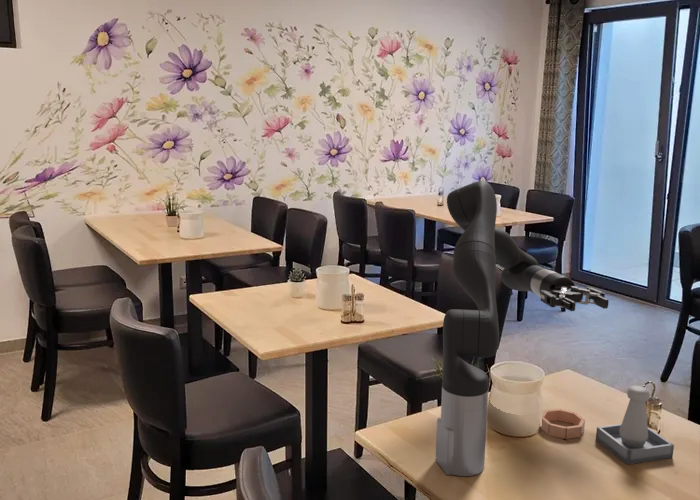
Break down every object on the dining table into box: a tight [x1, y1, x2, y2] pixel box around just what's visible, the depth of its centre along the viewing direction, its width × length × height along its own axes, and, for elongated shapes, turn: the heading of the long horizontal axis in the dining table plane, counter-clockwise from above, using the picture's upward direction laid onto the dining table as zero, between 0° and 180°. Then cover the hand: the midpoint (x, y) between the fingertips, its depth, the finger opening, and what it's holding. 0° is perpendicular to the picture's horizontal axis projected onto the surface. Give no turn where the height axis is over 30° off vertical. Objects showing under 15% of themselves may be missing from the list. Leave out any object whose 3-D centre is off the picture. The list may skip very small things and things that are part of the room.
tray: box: [595, 423, 675, 465], centre depth 147 cm, size 11×11×3 cm
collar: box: [540, 408, 586, 440], centre depth 156 cm, size 9×9×2 cm
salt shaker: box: [619, 385, 650, 449], centre depth 146 cm, size 6×6×13 cm
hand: (590, 305), depth 155 cm, fingers open, 8 cm apart
